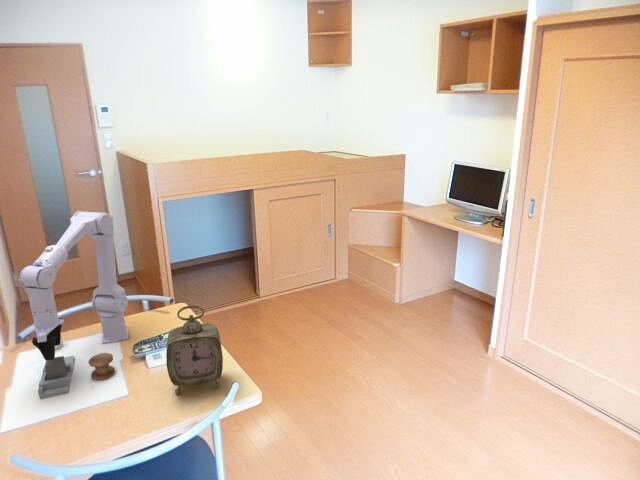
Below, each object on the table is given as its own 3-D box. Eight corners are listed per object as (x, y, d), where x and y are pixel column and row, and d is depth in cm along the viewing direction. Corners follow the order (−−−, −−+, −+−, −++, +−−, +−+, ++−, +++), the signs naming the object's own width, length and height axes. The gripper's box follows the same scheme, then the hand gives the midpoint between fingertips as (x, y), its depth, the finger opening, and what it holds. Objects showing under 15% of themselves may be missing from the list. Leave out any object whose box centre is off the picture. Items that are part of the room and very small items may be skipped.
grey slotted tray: (49, 363, 140) (47, 354, 139) (74, 358, 143) (73, 349, 142) (39, 398, 124) (37, 388, 123) (68, 392, 127) (66, 382, 126)
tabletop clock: (170, 399, 124) (160, 316, 116) (171, 379, 132) (162, 301, 124) (225, 390, 128) (218, 309, 120) (222, 372, 136) (216, 295, 128)
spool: (92, 370, 137) (89, 355, 135) (115, 365, 139) (112, 351, 137) (90, 382, 131) (87, 367, 129) (115, 377, 133) (112, 362, 132)
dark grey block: (51, 376, 132) (47, 358, 130) (67, 374, 133) (63, 356, 131) (48, 384, 128) (44, 366, 126) (64, 382, 129) (61, 363, 127)
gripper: (54, 318, 119) (64, 363, 123) (65, 295, 132) (73, 336, 136) (23, 322, 116) (34, 368, 121) (37, 298, 129) (46, 340, 134)
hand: (53, 352), depth 128 cm, fingers open, 7 cm apart
